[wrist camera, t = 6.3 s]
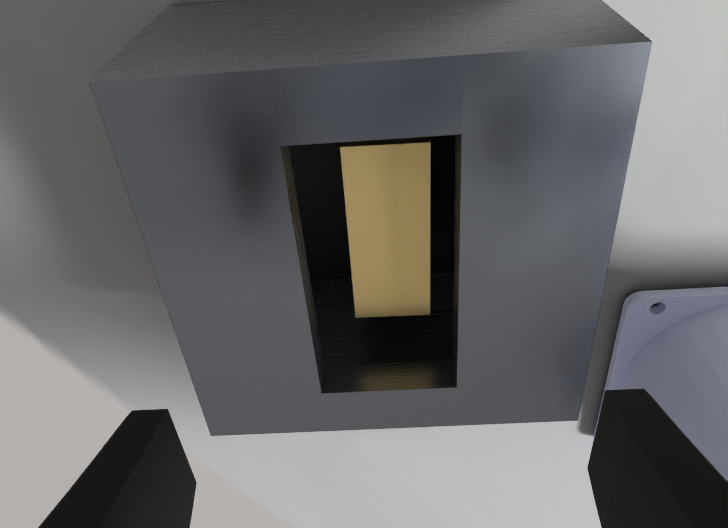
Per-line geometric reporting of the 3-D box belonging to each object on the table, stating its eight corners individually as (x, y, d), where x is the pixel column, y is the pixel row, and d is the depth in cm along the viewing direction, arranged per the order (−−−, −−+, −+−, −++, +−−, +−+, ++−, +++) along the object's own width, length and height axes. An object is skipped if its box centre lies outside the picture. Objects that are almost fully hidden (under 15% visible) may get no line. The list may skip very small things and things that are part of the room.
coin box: (569, -26, 15) (652, 41, 11) (533, 291, 21) (577, 420, 17) (169, 5, 16) (88, 81, 11) (243, 307, 22) (211, 435, 17)
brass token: (419, 78, 17) (430, 142, 14) (420, 232, 20) (430, 314, 17) (346, 83, 17) (340, 147, 14) (358, 235, 20) (355, 317, 17)
